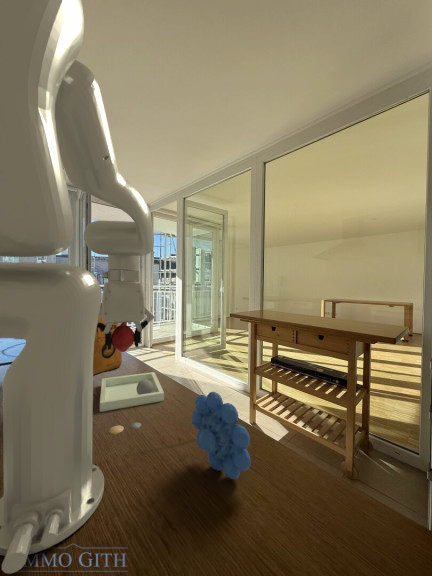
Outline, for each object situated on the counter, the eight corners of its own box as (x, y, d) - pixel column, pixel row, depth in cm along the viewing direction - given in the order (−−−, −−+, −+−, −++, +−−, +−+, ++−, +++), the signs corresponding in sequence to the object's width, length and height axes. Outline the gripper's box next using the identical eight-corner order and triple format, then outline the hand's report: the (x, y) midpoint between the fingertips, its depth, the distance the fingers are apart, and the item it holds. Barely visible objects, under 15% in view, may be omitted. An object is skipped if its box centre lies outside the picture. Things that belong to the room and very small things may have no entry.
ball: (154, 398, 60) (154, 382, 60) (137, 401, 58) (137, 384, 58) (151, 391, 64) (151, 376, 63) (135, 393, 62) (135, 378, 62)
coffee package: (126, 368, 81) (126, 302, 80) (88, 380, 71) (88, 304, 70) (109, 361, 86) (109, 300, 86) (72, 372, 76) (72, 302, 76)
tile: (149, 434, 47) (149, 431, 47) (103, 445, 44) (103, 441, 44) (145, 418, 52) (145, 415, 52) (104, 426, 49) (104, 423, 49)
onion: (117, 357, 59) (117, 324, 59) (106, 351, 63) (107, 321, 63) (139, 352, 64) (139, 321, 63) (128, 347, 67) (128, 318, 67)
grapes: (173, 465, 39) (174, 392, 39) (202, 444, 44) (203, 379, 44) (230, 511, 32) (233, 421, 31) (257, 480, 37) (260, 402, 36)
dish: (163, 402, 59) (164, 392, 59) (99, 414, 53) (99, 403, 53) (154, 380, 72) (154, 372, 72) (101, 387, 66) (101, 378, 66)
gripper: (84, 276, 56) (84, 354, 56) (160, 278, 63) (159, 347, 63) (87, 276, 63) (87, 345, 63) (155, 278, 69) (154, 340, 70)
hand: (123, 346), depth 63 cm, fingers closed on onion, 5 cm apart
